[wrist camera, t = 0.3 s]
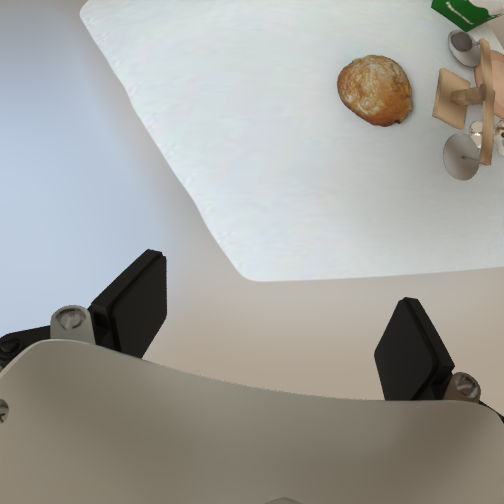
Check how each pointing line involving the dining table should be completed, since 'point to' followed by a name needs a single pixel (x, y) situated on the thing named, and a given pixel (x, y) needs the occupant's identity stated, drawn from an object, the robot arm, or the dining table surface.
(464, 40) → the balance
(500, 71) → the dish
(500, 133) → the wineglass
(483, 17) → the milk carton
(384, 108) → the bread roll
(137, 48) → the dining table surface
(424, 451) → the robot arm
